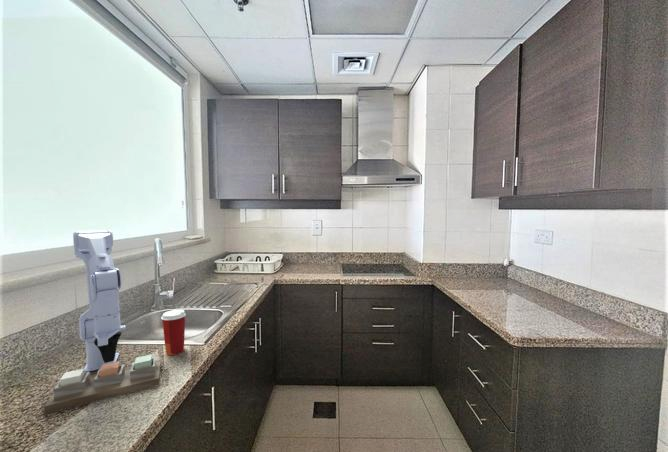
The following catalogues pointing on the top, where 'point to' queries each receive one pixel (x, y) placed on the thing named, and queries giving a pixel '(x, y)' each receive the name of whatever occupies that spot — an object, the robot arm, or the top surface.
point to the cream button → (72, 377)
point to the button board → (103, 386)
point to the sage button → (143, 362)
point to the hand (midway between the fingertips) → (109, 360)
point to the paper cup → (174, 331)
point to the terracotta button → (109, 369)
